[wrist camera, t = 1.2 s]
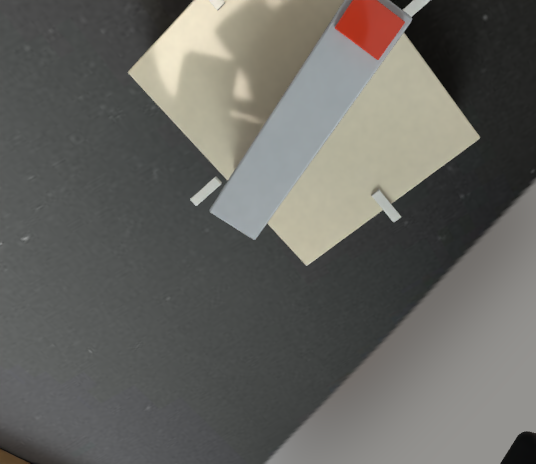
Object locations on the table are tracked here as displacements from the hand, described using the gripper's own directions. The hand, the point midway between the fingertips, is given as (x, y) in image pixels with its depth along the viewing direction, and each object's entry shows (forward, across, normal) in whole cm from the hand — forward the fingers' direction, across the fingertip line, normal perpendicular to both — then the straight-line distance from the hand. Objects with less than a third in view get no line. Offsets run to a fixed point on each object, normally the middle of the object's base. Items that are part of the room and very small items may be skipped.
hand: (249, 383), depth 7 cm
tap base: (+14, 0, -3) cm, 14 cm away
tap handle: (+11, 0, -3) cm, 11 cm away
